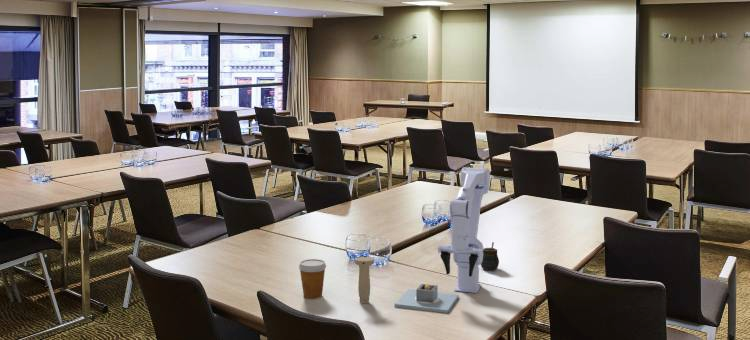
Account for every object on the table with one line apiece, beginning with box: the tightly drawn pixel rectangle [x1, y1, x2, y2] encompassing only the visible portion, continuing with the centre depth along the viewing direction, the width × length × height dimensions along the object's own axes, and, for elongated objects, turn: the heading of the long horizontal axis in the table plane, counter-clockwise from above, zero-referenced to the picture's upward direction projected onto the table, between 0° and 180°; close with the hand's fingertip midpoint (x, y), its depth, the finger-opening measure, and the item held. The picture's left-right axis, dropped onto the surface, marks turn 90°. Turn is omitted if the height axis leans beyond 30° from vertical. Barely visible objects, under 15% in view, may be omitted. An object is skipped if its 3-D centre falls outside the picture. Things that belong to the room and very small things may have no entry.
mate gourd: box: [480, 241, 500, 272], centre depth 273 cm, size 7×8×10 cm
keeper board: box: [394, 284, 460, 314], centre depth 235 cm, size 16×18×6 cm
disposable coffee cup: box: [298, 258, 327, 300], centre depth 241 cm, size 10×10×12 cm
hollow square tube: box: [415, 283, 439, 303], centre depth 235 cm, size 6×6×4 cm
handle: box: [354, 256, 375, 304], centre depth 235 cm, size 5×6×15 cm
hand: (459, 274), depth 235 cm, fingers open, 7 cm apart
